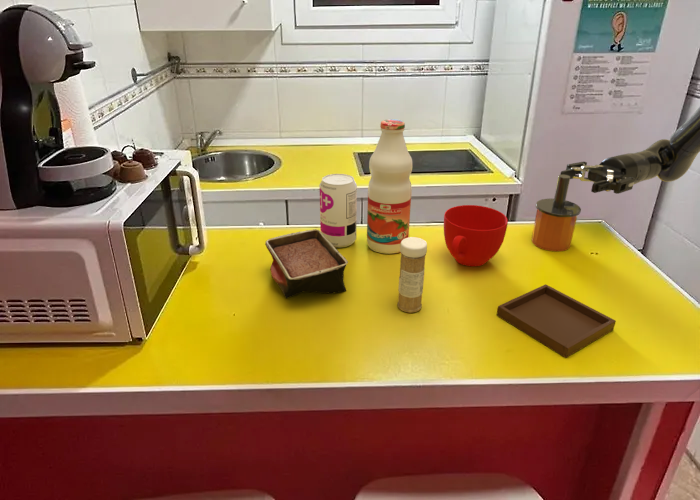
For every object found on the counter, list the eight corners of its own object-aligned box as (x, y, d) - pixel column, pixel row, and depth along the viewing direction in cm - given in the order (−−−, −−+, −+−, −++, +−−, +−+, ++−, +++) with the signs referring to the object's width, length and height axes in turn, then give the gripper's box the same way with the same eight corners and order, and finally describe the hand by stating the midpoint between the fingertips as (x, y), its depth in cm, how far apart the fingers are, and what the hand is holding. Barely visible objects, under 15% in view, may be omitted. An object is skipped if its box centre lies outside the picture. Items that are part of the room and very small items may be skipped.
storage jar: (577, 245, 118) (585, 210, 114) (554, 254, 114) (562, 219, 110) (546, 231, 124) (553, 198, 120) (523, 240, 120) (530, 206, 116)
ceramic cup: (421, 270, 108) (425, 227, 103) (454, 240, 120) (459, 200, 115) (481, 289, 101) (487, 243, 97) (509, 255, 114) (516, 213, 109)
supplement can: (328, 251, 115) (327, 187, 108) (315, 236, 121) (313, 175, 114) (362, 245, 118) (363, 182, 111) (347, 230, 124) (347, 170, 117)
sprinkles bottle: (404, 297, 99) (408, 233, 92) (426, 305, 96) (432, 240, 90) (392, 308, 95) (395, 243, 89) (414, 316, 93) (419, 250, 87)
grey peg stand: (588, 213, 114) (597, 178, 111) (562, 223, 110) (570, 187, 106) (552, 200, 121) (559, 166, 118) (526, 209, 117) (532, 174, 113)
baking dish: (279, 318, 96) (282, 275, 90) (261, 261, 109) (263, 221, 103) (353, 309, 100) (360, 267, 95) (326, 255, 114) (331, 216, 108)
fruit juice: (412, 239, 120) (420, 118, 107) (401, 258, 112) (409, 129, 99) (373, 233, 123) (377, 114, 110) (360, 250, 115) (363, 125, 102)
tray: (613, 330, 90) (616, 320, 89) (565, 358, 83) (568, 348, 82) (543, 292, 100) (545, 284, 99) (496, 315, 93) (497, 306, 93)
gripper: (601, 147, 126) (554, 156, 118) (657, 163, 115) (609, 175, 107) (594, 176, 129) (548, 187, 122) (647, 195, 118) (600, 208, 111)
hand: (576, 182), depth 115 cm, fingers open, 8 cm apart
